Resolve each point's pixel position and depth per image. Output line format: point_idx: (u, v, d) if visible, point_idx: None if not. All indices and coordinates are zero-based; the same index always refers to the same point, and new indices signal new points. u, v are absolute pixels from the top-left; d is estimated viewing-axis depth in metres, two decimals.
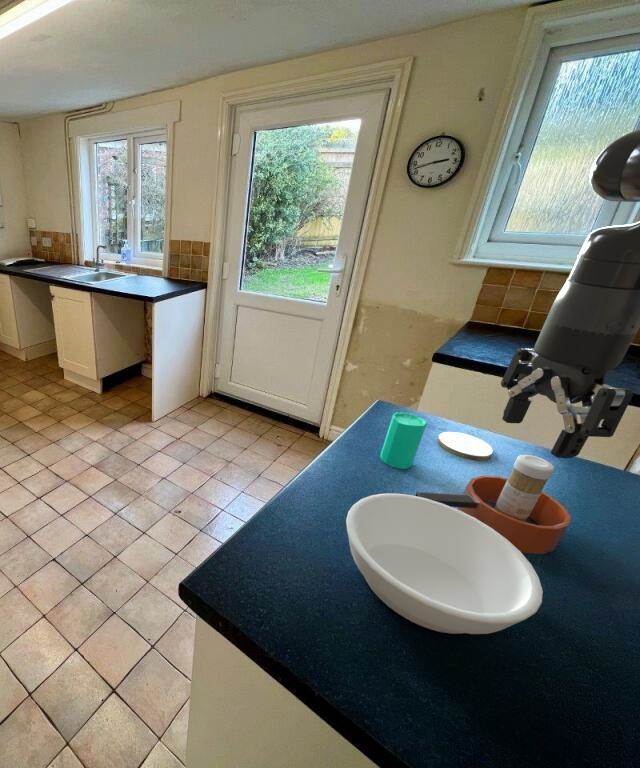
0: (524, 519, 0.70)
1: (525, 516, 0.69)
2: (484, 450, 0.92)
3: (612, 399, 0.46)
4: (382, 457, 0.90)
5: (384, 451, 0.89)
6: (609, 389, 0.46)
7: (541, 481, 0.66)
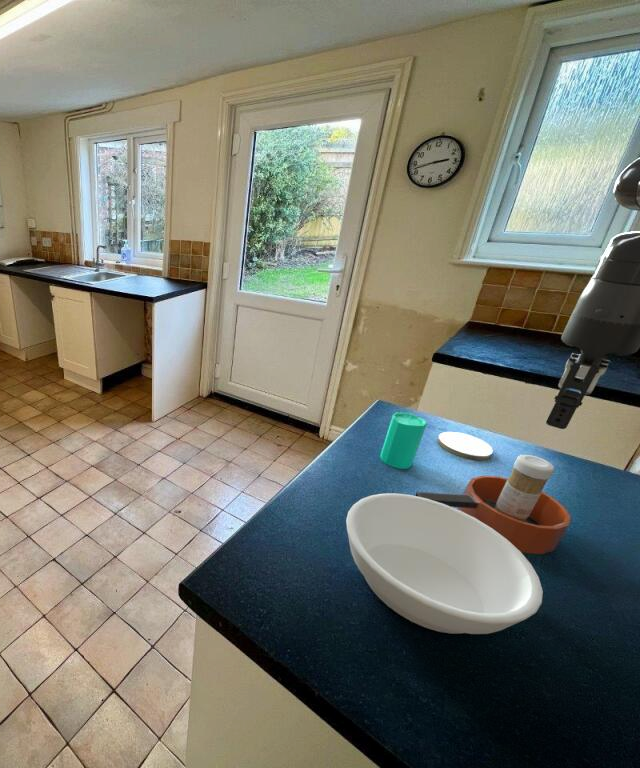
0: (524, 519, 0.70)
1: (525, 516, 0.69)
2: (484, 450, 0.92)
3: (576, 371, 0.56)
4: (382, 457, 0.90)
5: (384, 451, 0.89)
6: (576, 363, 0.56)
7: (541, 481, 0.66)
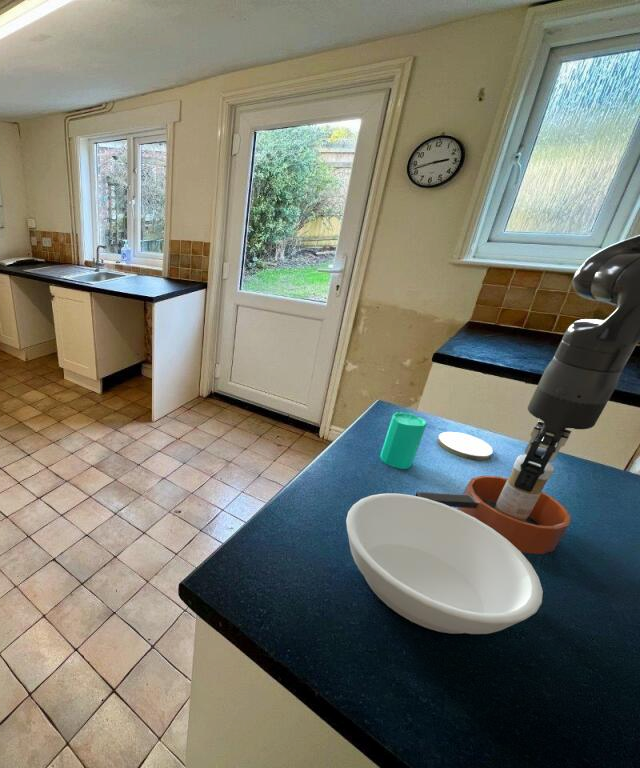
0: (524, 519, 0.70)
1: (525, 516, 0.69)
2: (484, 450, 0.92)
3: (535, 449, 0.62)
4: (382, 457, 0.90)
5: (384, 451, 0.89)
6: (535, 442, 0.62)
7: (541, 481, 0.66)
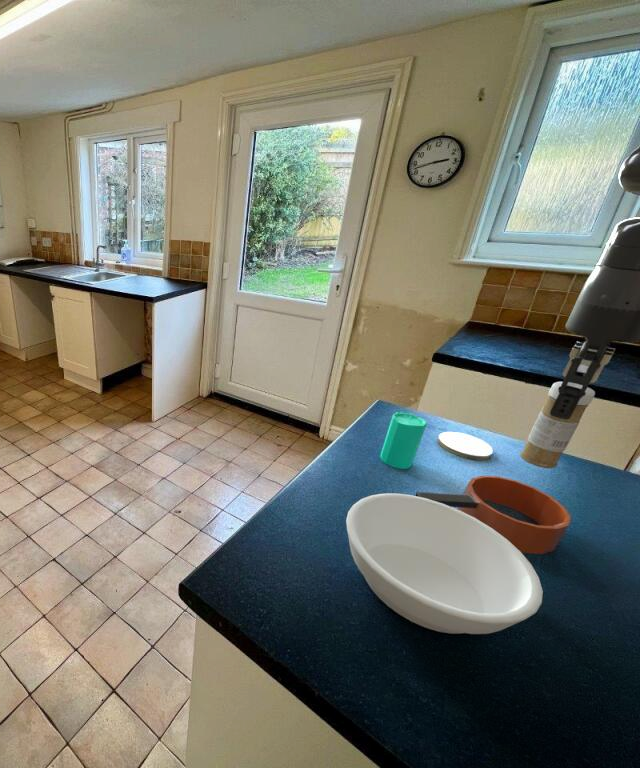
0: (560, 452, 0.64)
1: (561, 449, 0.64)
2: (484, 450, 0.92)
3: (576, 366, 0.56)
4: (382, 457, 0.90)
5: (384, 451, 0.89)
6: (577, 358, 0.56)
7: (581, 407, 0.61)
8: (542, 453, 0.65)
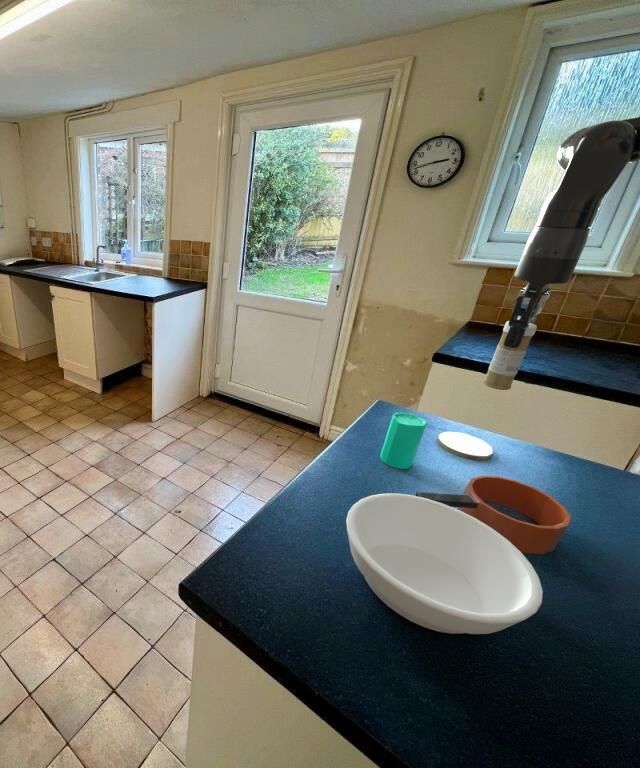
0: (512, 376, 0.82)
1: (513, 373, 0.82)
2: (484, 450, 0.92)
3: (520, 303, 0.74)
4: (382, 457, 0.90)
5: (384, 451, 0.89)
6: (520, 296, 0.74)
7: (526, 338, 0.78)
8: (499, 378, 0.83)
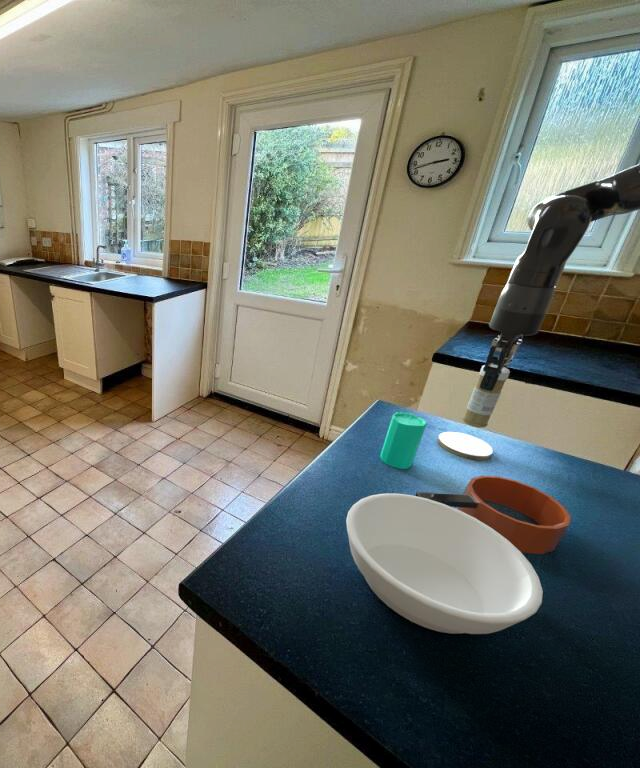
0: (488, 415, 0.89)
1: (489, 412, 0.88)
2: (484, 450, 0.92)
3: (493, 352, 0.81)
4: (382, 457, 0.90)
5: (384, 451, 0.89)
6: (493, 346, 0.81)
7: (500, 382, 0.85)
8: (476, 416, 0.90)
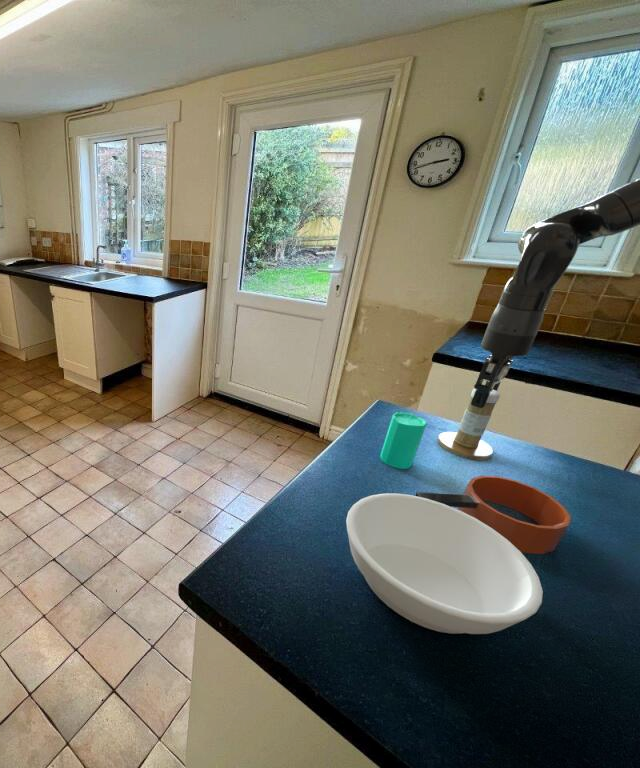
0: (479, 436, 0.91)
1: (480, 434, 0.91)
2: (484, 450, 0.92)
3: (486, 367, 0.82)
4: (382, 457, 0.90)
5: (384, 451, 0.89)
6: (486, 361, 0.82)
7: (490, 405, 0.88)
8: (467, 437, 0.92)
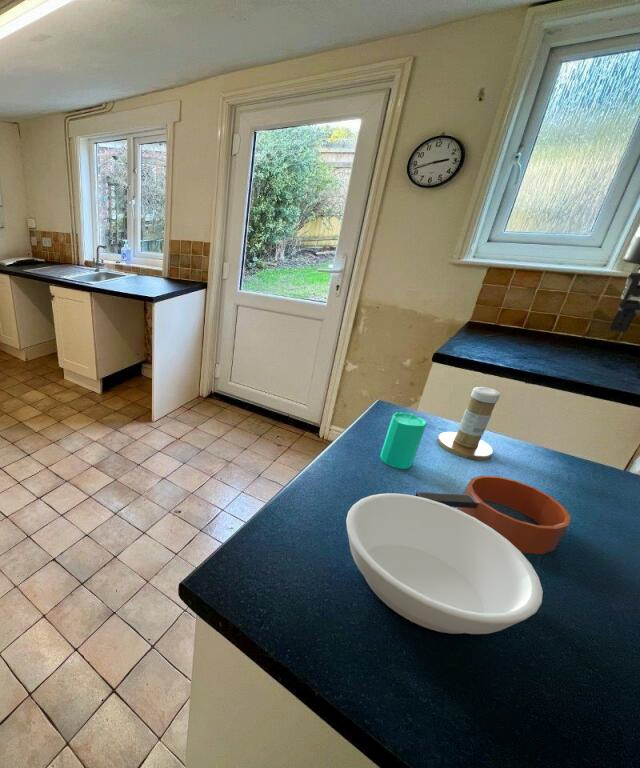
0: (479, 436, 0.91)
1: (480, 434, 0.91)
2: (484, 450, 0.92)
3: (638, 280, 0.70)
4: (382, 457, 0.90)
5: (384, 451, 0.89)
6: (639, 273, 0.70)
7: (490, 405, 0.88)
8: (467, 437, 0.92)
